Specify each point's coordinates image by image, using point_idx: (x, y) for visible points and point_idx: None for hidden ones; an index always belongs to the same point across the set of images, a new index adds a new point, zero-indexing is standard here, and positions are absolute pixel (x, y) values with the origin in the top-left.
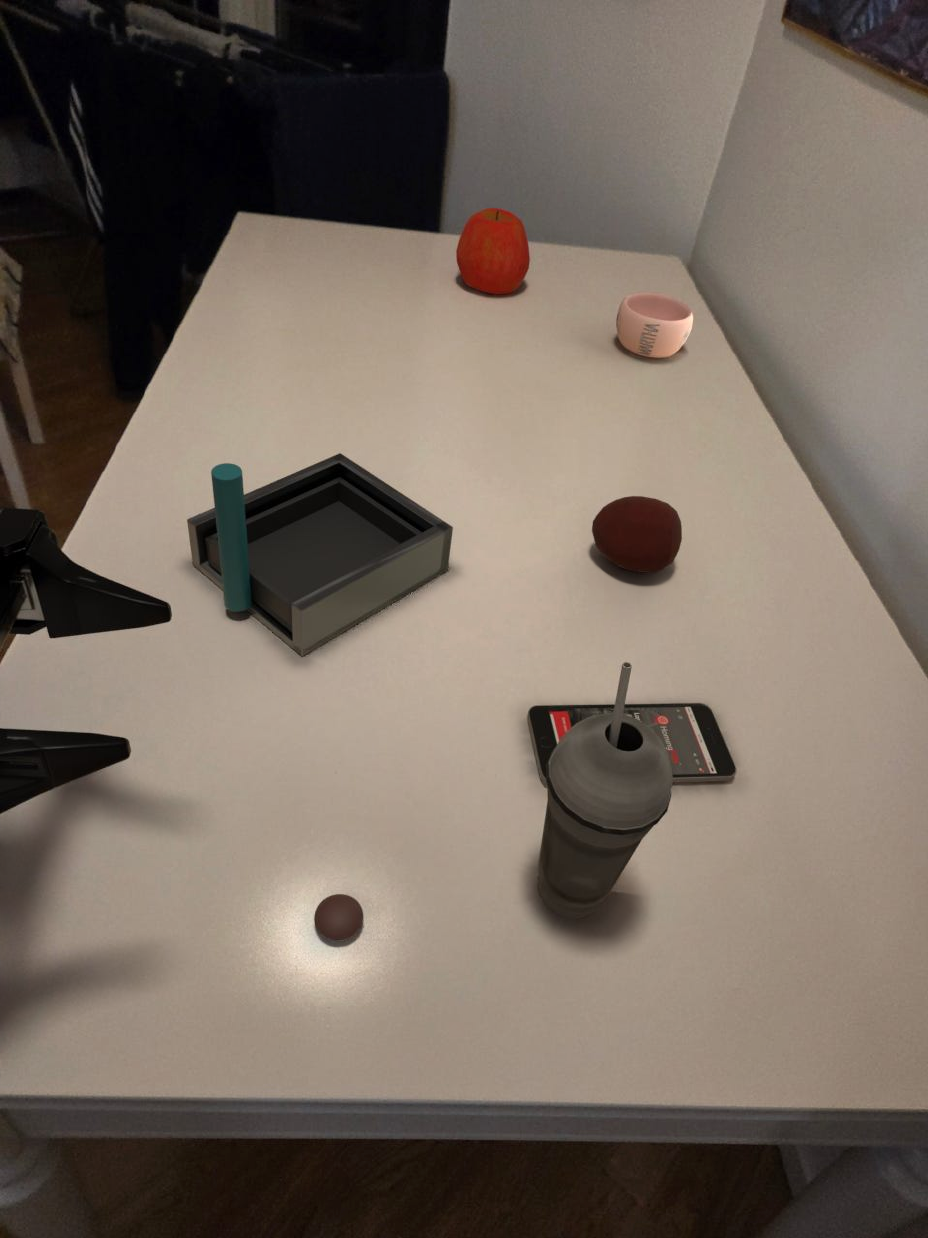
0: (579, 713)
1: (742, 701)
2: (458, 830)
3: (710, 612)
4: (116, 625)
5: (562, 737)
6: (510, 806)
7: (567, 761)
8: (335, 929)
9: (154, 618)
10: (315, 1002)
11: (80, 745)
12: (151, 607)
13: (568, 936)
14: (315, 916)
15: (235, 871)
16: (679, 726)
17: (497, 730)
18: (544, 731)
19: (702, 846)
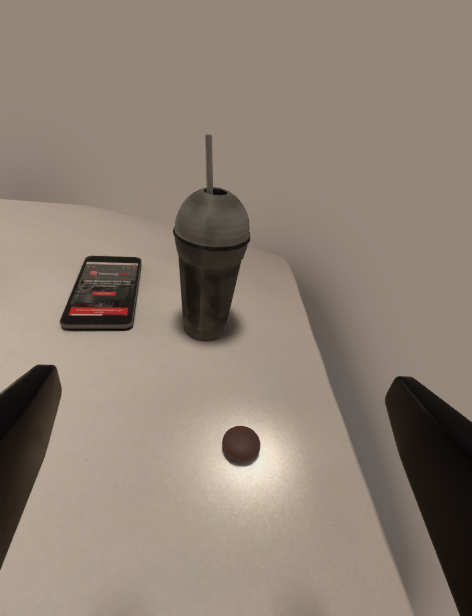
0: (75, 302)
1: (85, 249)
2: (160, 374)
3: (5, 243)
4: (11, 525)
5: (194, 227)
6: (143, 347)
7: (220, 223)
8: (256, 441)
9: (51, 411)
10: (302, 461)
11: (470, 423)
12: (42, 391)
13: (235, 332)
14: (244, 458)
15: (193, 547)
16: (100, 268)
17: (71, 347)
18: (86, 319)
19: (179, 280)
